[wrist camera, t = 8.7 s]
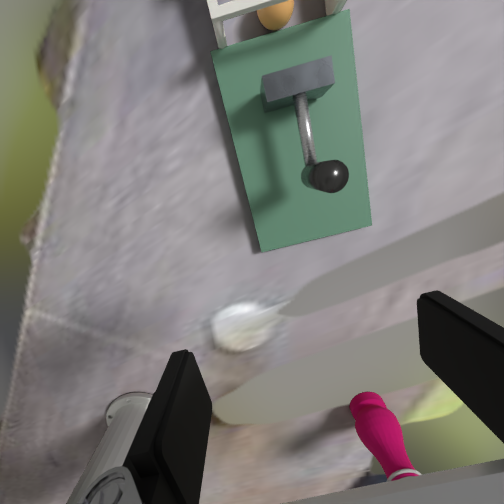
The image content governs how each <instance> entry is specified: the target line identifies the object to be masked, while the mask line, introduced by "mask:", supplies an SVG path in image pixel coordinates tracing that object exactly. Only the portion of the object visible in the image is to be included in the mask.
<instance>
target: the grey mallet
mask: <svg viewBox="0 0 504 504" xmlns="http://www.w3.org/2000/svg"><path fill="white" fill-rule="evenodd" d="M334 84H335V78H334V70H333V62H332V55H331V56H327V57H324V58H320V59H317V60H314V61H310V62H307V63H303V64H300V65H297V66H293V67H290V68H286V69H283V70H280V71H276V72H273V73H269V74H266V75H263V76H262V78H261V86H260V94H261V99H262V104H263V108H264V113H267V112H271V111H274V110H278V109H281V108H285V107H288V106H292V105H294V107H295V113H296V119H297V124H298V130H299V136H300V141H301V147H302V152H303V158H304V164H305V167H304V169H303V170H302V173H301V181H302V183H303V184H304V185H305V186H306V187H308V188H311V189H315V190H319V191H323V192H327V193H336V192H338V191H340V190H342V189H343V188H344V187H345V186H346V184H347V182H348V179H349V171H348V168H347V166H346V165H345V164H344V163H343V162H341V161H339V160H328V161H322V162H317V157H316V151H315V144H314V138H313V132H312V126H311V120H310V114H309V107H308V101H310V100H313V99H317V98H320V97H322V96H323V95H324V94H325V93H326V92H327V91H328V90H329V89H330V88H331V87H332V86H333V85H334Z"/></svg>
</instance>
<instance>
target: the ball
mask: <svg viewBox="0 0 504 504" xmlns="http://www.w3.org/2000/svg"><path fill="white" fill-rule="evenodd" d="M293 7H294V0H288V1H285V2H282V3H279V4H275V5H272V6H269V7H266V8H263V9H259V10H257V14H258V17H259V20H260V22H261V23H262V25H263V26H264V27H265V28H267V29H269V30H279V29H281V28H283V27H284V26H285V25H286V24H287V23H288V21H289V20H290V18H291V15H292V12H293Z"/></svg>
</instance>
